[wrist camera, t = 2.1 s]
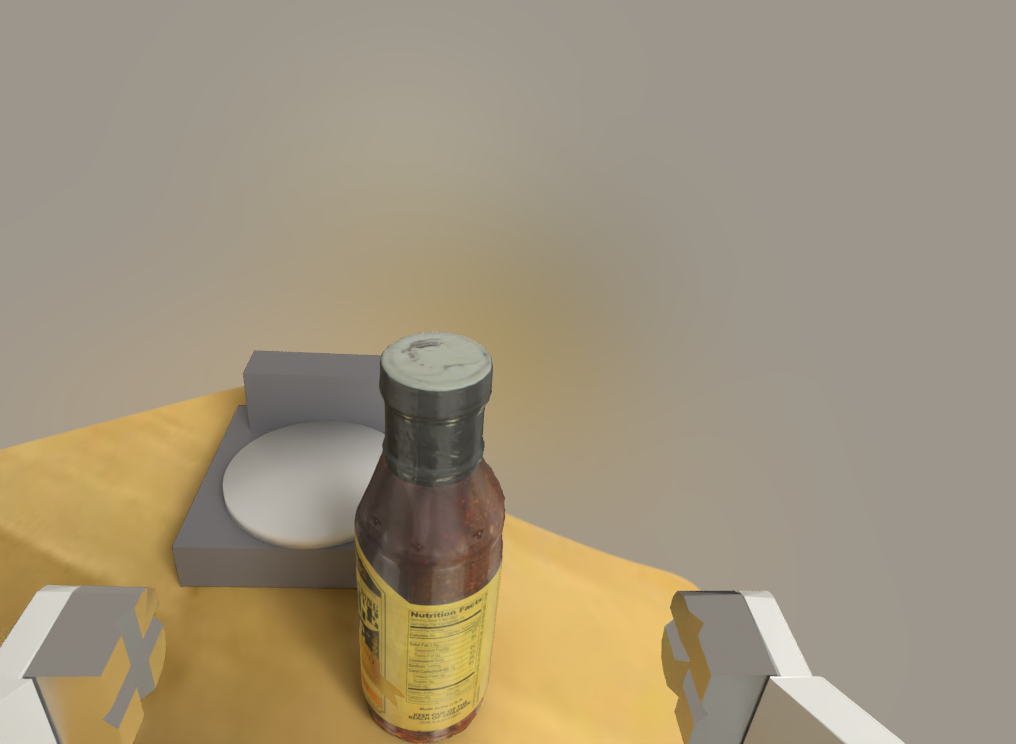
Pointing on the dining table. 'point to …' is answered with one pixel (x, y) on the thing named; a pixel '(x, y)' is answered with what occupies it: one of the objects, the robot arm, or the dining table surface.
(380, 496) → the sauce bottle
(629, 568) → the dining table surface
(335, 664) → the dining table surface
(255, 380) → the kitchen scale
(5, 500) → the dining table surface
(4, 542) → the dining table surface
